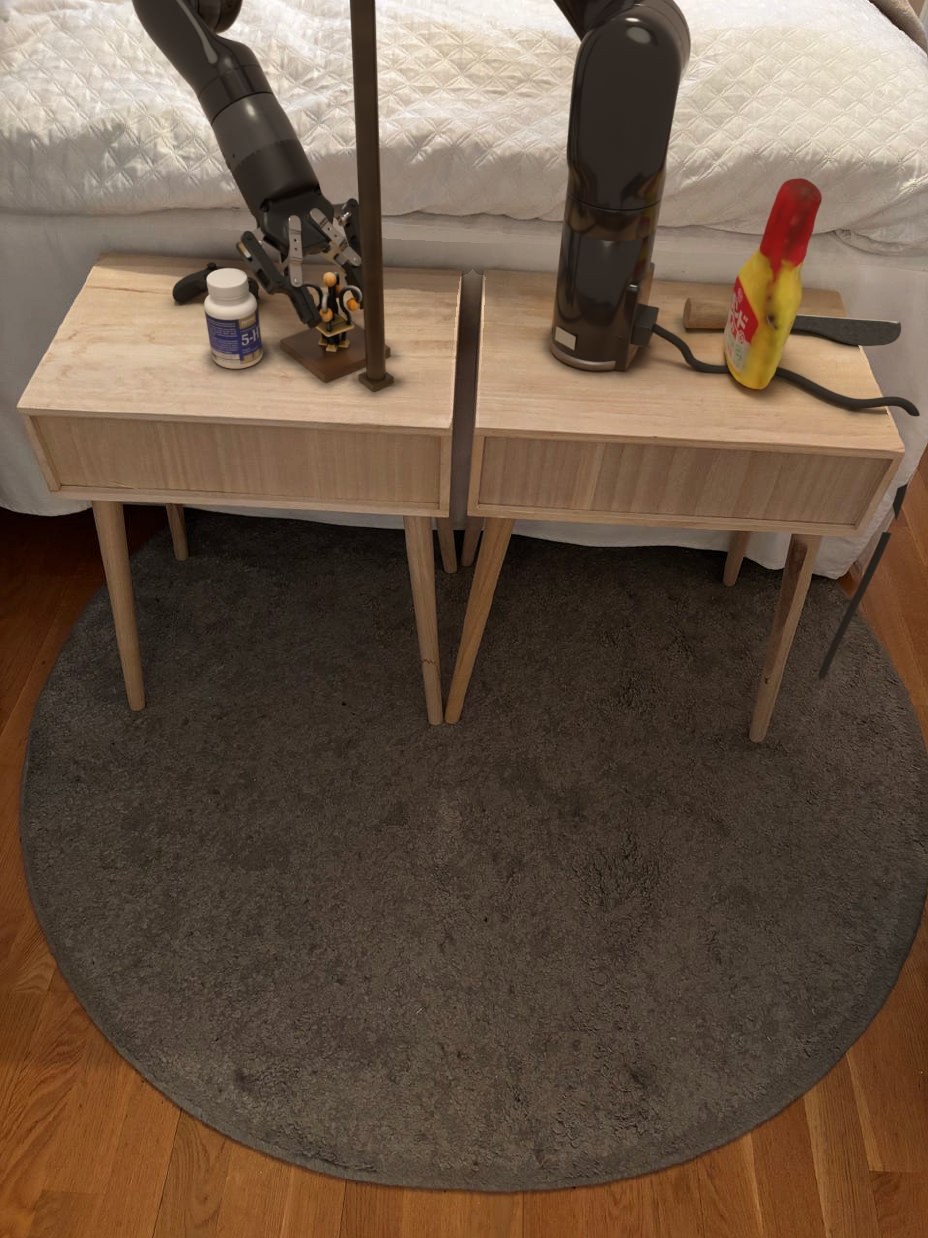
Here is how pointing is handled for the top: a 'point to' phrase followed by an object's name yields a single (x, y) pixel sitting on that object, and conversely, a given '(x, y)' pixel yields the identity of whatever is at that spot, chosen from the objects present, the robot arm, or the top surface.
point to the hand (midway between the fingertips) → (341, 314)
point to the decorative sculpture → (335, 311)
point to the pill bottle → (232, 319)
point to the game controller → (203, 285)
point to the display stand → (370, 340)
